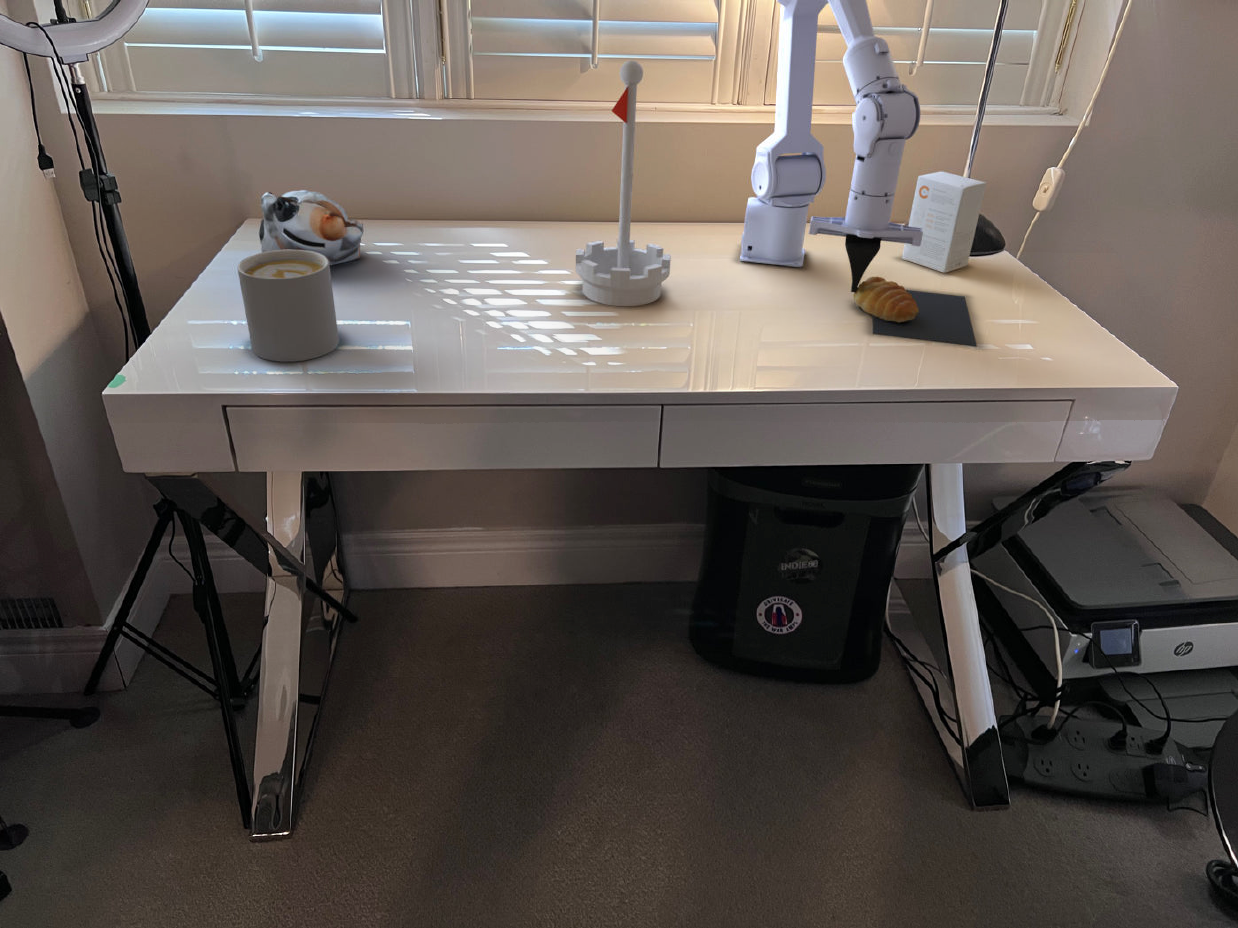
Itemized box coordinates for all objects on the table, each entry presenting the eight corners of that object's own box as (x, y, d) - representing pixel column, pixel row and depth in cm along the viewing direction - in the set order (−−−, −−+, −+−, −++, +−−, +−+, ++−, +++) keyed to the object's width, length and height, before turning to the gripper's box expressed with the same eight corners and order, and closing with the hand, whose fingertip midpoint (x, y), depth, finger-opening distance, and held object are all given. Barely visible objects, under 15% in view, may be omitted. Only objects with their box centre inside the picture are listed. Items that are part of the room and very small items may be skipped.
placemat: (872, 334, 122) (873, 333, 122) (872, 287, 137) (872, 285, 137) (976, 347, 120) (976, 346, 119) (964, 297, 135) (964, 296, 134)
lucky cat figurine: (374, 249, 141) (381, 179, 130) (347, 305, 134) (352, 237, 123) (276, 216, 139) (274, 142, 128) (243, 271, 132) (238, 198, 121)
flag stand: (601, 269, 138) (608, 49, 123) (682, 286, 134) (700, 60, 118) (558, 296, 128) (559, 61, 112) (644, 316, 124) (658, 73, 108)
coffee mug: (336, 359, 109) (326, 277, 103) (246, 364, 107) (230, 280, 102) (342, 315, 120) (333, 239, 115) (261, 318, 118) (247, 241, 113)
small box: (967, 266, 146) (988, 182, 139) (944, 274, 142) (964, 188, 136) (923, 251, 151) (941, 170, 144) (900, 259, 148) (917, 175, 141)
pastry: (929, 321, 126) (935, 294, 124) (889, 329, 123) (894, 301, 121) (884, 297, 133) (888, 271, 131) (845, 304, 130) (849, 278, 128)
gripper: (814, 192, 119) (799, 293, 126) (931, 205, 117) (909, 307, 124) (817, 179, 125) (802, 276, 132) (929, 190, 123) (907, 289, 130)
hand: (854, 290), depth 128 cm, fingers closed, pressing on pastry
